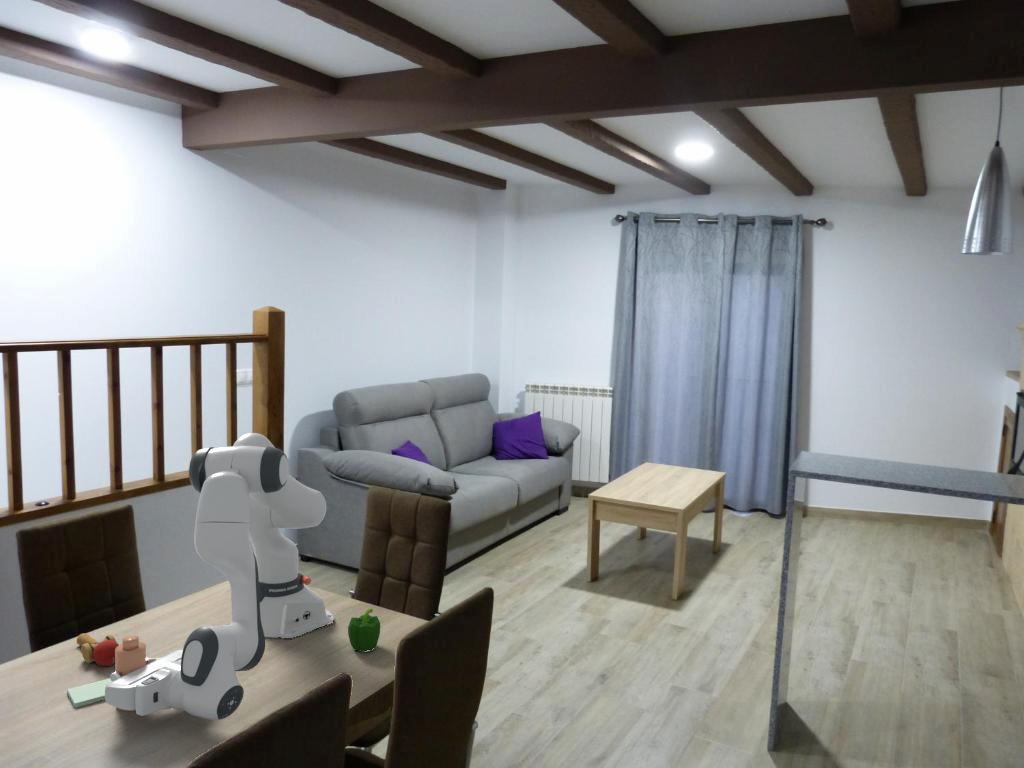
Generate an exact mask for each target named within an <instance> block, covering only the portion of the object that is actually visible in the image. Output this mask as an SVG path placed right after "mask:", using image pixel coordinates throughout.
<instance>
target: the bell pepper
mask: <svg viewBox="0 0 1024 768" xmlns="http://www.w3.org/2000/svg"><path fill="white" fill-rule="evenodd" d="M373 611H374V610H373V609H372V608H369V609H367V610H366V611H365V613H364V614H363V615H360V616H358V617H351V618H350V620H349V623H348V626H347V635H348V638H349V643H350V646H351V647H352V650H354V649H355V650H361V651H367V650H372V649H373V648H375V647H376V648H377V645H378V641H379V638H380V635H381V622H380V620H379V618H378V615H376V616H375V615H373V616H372V615H370V613H373ZM376 648H375V649H376ZM355 650H354V651H355ZM361 651H360V652H361Z"/></svg>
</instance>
